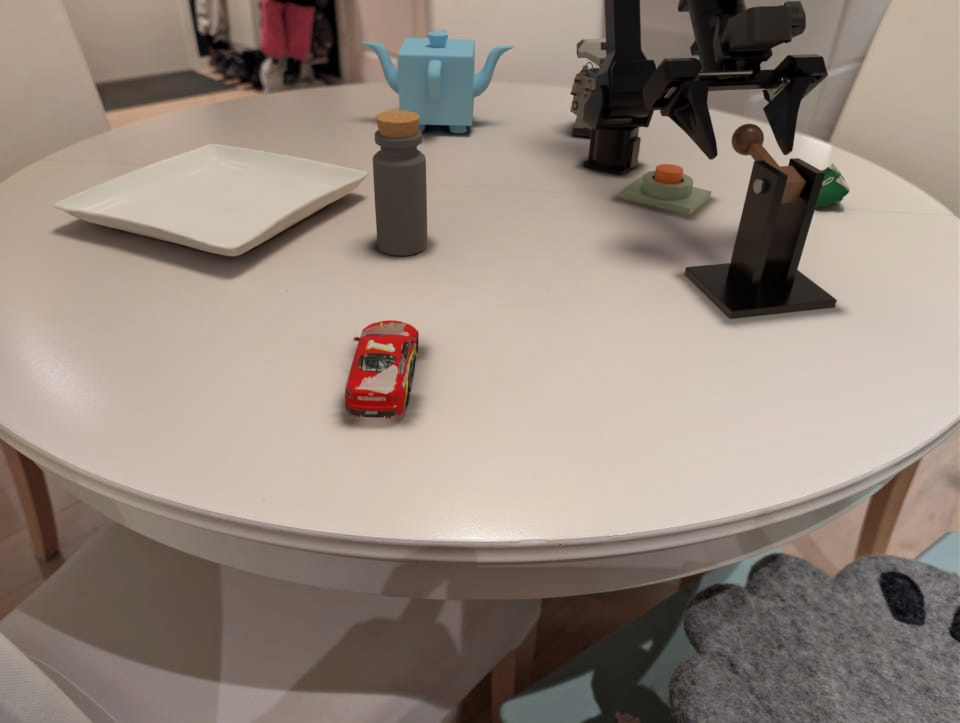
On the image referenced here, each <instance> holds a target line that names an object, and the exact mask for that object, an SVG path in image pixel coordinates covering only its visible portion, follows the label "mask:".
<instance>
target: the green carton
mask: <svg viewBox="0 0 960 723" xmlns="http://www.w3.org/2000/svg"><path fill="white" fill-rule="evenodd" d="M830 164H831V165H829V166H827V167H826V168H824V169H822V170H821V171H823V172H825V176H824V180H823V183H822V187H821V190H820V193H819V197H818V200H817V204H816V207H815V209H817V208H821V207H824V206H830V205H831V204H835V203H838V202H841V201H842V200H844V198H845V197H846V196H847V195H849V193H850V186H849V183H848V182H847V180H846V179H845V177H844V176H843V175H842V172H841V170H840V169H839V168H838V167H837V166H836V164H834V163H833V162H832V163H830Z"/></svg>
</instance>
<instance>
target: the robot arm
mask: <svg viewBox="0 0 960 723" xmlns="http://www.w3.org/2000/svg"><path fill="white" fill-rule="evenodd" d="M677 11H678V12H679V13H688V14H689V19H690V24H691V29H692V31H693V32H692V33H693V37H694V41H693V43H692V44H691V45H690V47H689V50H690V55H691V57H671V58H670V57H669V58H668V57H667V58H663V59H662V61H660V63H659V64H658V65H656V62H655V60H654V59H648V57H647V56H646V55H645V54H644V52H643V49H642V27H641V26H642V24H641V23H642V22H641V20H642V19H641V0H604V22H605V38H606V58H605V59H604V61H603V63H602V65H601V67H599V68H600V69H599V71H598V73H597V75H596V85H595V89H594V91H593V92H592V94H591V95H590V97H589V99H588V100H587V102H586V104H585V105H584V122H585V123H586V124H588V125H589V126H590V127H591V128H592V129H591V137H590V138H589V139H590V140H589V149H588V158H587V160H584V161H583V162H582V166H583V167H585V168H588V169H594V170H598V171H602V172H606V173H610V174H615V175H620V176H621V175H624V174H625V173H627V172H628V171H630V170H631V169H633V168H635V167H636V166H638V165H639V162H640V161H639V154H640V148H641V141H642V138H641V136H639V132H640V128H649V127H650V124H651V121H652V117H653V115H654V112H655V111H659V113H660V116H661V117H667V118H669V119H670V120H671V121H672V122H674V124H675V125H676V126H678V127H679V128H680V129H681V130H682V131H683V132H684V133H685V134H686V135H687V136H688V137H689V139H691V140H692V142H693V143H694V144H695V145H696V146H697V147H698V148H699V149H700V151H701V152H702V153H703V154H704V155H705V156H706V157H707V159H708V160H710V161H711V160H712V161H713V160H714V159H716V158H717V156H718V144H717V138H716V135H715V130H714V126H713V122H712V118H711V114H710V110H709V104H708V99H709V98H708V97H709V92H739V91H741V92H742V91H743V92H744V91H762V94H763V98H764V100H765V101H766V102H767V103H766V104H765V106H764V107H762V110H763V112H764V115H765V117H766V120H767V122H768V124H769V127H770V129H771V132H772V134H773V136H774V139H775V141H776V144H777V146H778V148H779V149H780V152H781V153H782V155H783V156H788V155H790V154H791V153H792V152H793V150H794V143H795V137H796V129H797V122H798V116H799V115H798V114H799V110H800V107H801V102H802V100H803V99H804V98H805V97H807V96H808V94H809V93H811V92H812V91H813V90H814V89H815V88H816V87H818V86H819V85H820V84H821V83H822V82H823V81H825V79H826V78H827V77H829V73H828V68H827V65H826V64H827V63H826V61H825V58H824V56H822V55H820V54H816V53H813V54H811V53H809V54H807V53H806V54H787V55H786V56H785V58H783V59H782V61H780V63H779V64H778V65H776V67H775V68H774V69H762V66H761V65H762V64H763V62H764V63H766V62H768V61H769V60H770V58H772V56H773V55H774V54H773V49H774V48H775V47H777V46H780V45H782V44H789V43H791V42H792V41H793V38H796V37H798V36H800V35H802V34H803V33H804V32H805V30H806V27H807V16H806V12H805V9H804V7H803V4H802V2H801V0H799V1H798V0H793V1H792V0H789V1H788V0H787V1H785V2H784V3H783V4H779V5H761V6H760V5H759V6H752V7H749V8H747V5H746V1H745V0H678V5H677ZM692 56H693V57H692ZM694 56H695V57H694ZM696 56H697V57H698V58H696Z"/></svg>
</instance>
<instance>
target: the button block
mask: <svg viewBox="0 0 960 723" xmlns="http://www.w3.org/2000/svg"><path fill="white" fill-rule="evenodd" d="M654 177H655V170H649V171H647V172H645V173H644V174H642V176H641V177H639V178H638V179H636V180H634V182H632V183H630V184H629V185H627V186H626V187H624V188H623V189H621V190H620V191H619V194H618V198H619V199H623V200H627V201H631V202H635V203H639V204H643V205H648V206H650V207H656V208H660V209H664V210H666V211H667V210H668V211H671V212H675V213H680V214H683V215H687V216H690V215H691V214H692V213H693V212H695V211H696V210H697V209H698V208H699V207H701V206H702V205H704V203H705V202H707V200H709V199H710V198H711V196H712V191H711V190H708V189H704V188H699V187H694V180H693V178H692V177H691V176H689V175H687V174H685V173H683V175H682V181H681V183H678V184H665V183H660V182H657V181H655V180H654Z"/></svg>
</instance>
